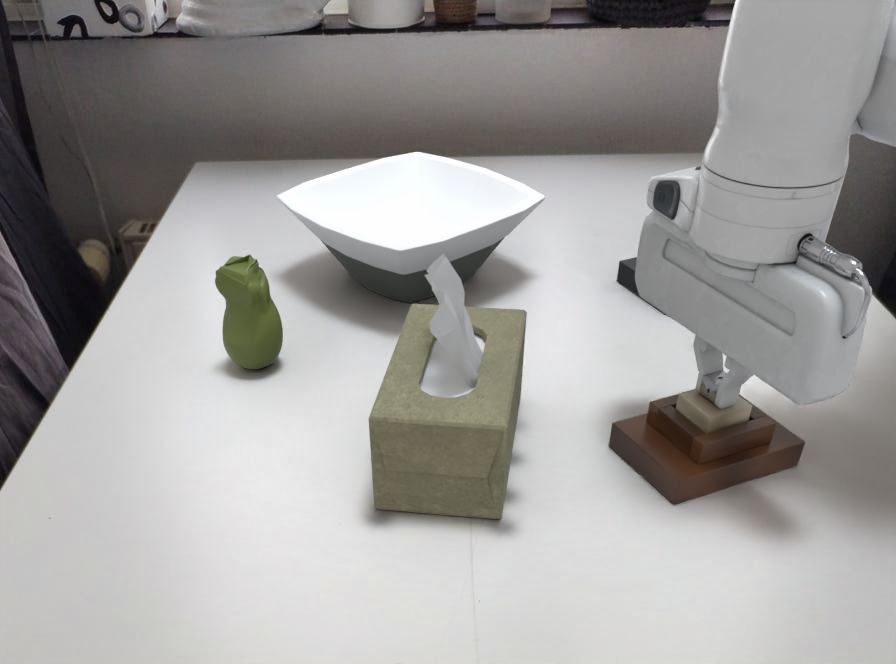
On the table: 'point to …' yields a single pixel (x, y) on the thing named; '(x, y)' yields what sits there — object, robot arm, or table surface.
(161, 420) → the table surface
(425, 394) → the tissue box
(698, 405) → the ivory key
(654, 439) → the brown stepped base
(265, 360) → the green figurine
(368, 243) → the bowl
